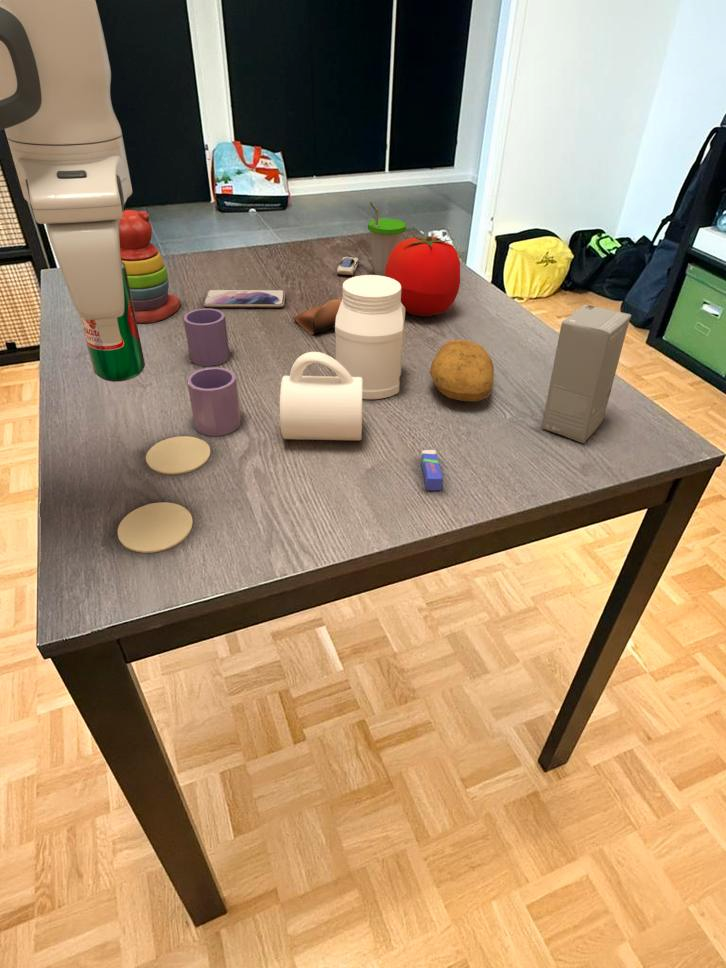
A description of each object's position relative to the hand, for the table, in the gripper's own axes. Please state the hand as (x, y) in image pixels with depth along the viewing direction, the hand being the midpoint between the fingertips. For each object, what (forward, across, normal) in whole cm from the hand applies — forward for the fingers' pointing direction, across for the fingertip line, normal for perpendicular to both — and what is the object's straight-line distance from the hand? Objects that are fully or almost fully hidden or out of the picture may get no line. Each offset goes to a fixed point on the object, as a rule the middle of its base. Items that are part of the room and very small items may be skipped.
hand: (109, 326), depth 62 cm
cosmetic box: (+20, +4, +57) cm, 61 cm away
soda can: (+5, 0, 0) cm, 5 cm away
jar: (+20, -16, +35) cm, 43 cm away
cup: (+20, -58, +54) cm, 82 cm away
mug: (+20, -4, +23) cm, 31 cm away
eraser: (+20, +9, +33) cm, 40 cm away
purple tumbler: (+20, -12, +10) cm, 26 cm away
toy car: (+20, -64, +48) cm, 83 cm away
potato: (+20, -9, +46) cm, 51 cm away
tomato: (+20, -39, +54) cm, 69 cm away
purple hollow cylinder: (+20, -32, +13) cm, 40 cm away
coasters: (+21, +1, +2) cm, 21 cm away
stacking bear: (+21, -53, +5) cm, 57 cm away
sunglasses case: (+20, -40, +39) cm, 59 cm away
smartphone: (+20, -52, +23) cm, 61 cm away
